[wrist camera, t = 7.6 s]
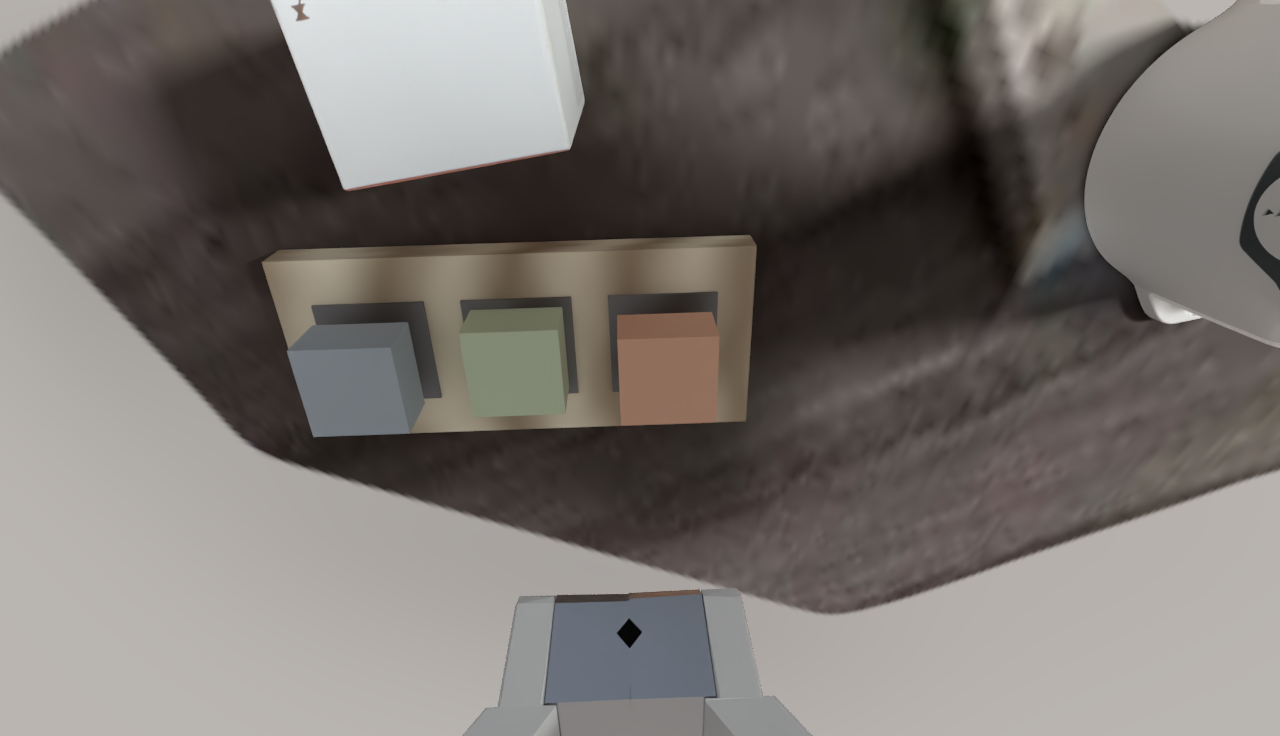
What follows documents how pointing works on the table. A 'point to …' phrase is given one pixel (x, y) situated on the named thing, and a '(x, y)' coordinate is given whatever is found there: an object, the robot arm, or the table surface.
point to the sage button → (515, 361)
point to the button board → (527, 278)
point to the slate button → (358, 379)
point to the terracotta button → (668, 368)
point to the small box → (434, 82)
